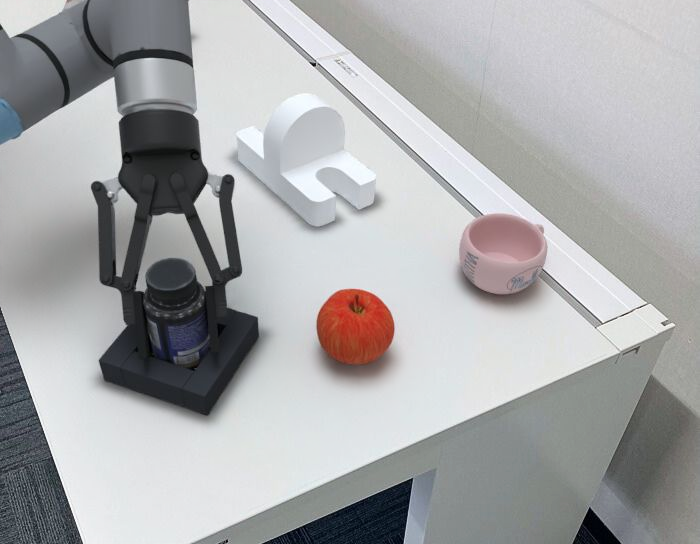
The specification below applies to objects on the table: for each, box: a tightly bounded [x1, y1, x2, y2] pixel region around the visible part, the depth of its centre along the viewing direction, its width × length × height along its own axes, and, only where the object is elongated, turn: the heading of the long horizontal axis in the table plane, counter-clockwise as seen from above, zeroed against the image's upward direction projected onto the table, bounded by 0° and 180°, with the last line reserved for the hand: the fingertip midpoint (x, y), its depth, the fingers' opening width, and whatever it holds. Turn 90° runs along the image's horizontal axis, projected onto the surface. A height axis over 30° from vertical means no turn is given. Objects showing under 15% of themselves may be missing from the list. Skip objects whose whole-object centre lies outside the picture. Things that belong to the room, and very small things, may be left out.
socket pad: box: [98, 306, 260, 416], centre depth 80 cm, size 12×12×3 cm
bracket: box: [236, 92, 377, 227], centre depth 99 cm, size 19×10×11 cm, turn 37°
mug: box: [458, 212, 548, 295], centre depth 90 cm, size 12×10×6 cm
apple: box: [315, 288, 396, 366], centre depth 80 cm, size 8×8×8 cm
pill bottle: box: [143, 257, 210, 371], centre depth 76 cm, size 6×6×11 cm
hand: (180, 354), depth 75 cm, fingers closed on pill bottle, 6 cm apart
